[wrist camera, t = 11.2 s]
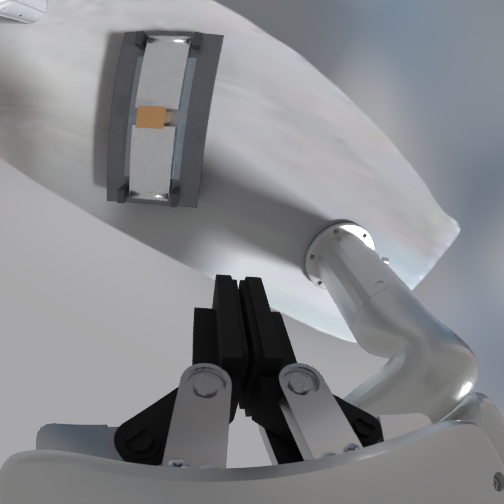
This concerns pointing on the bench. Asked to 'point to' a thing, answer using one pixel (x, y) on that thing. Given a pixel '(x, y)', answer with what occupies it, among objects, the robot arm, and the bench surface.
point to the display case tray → (163, 117)
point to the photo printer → (23, 10)
